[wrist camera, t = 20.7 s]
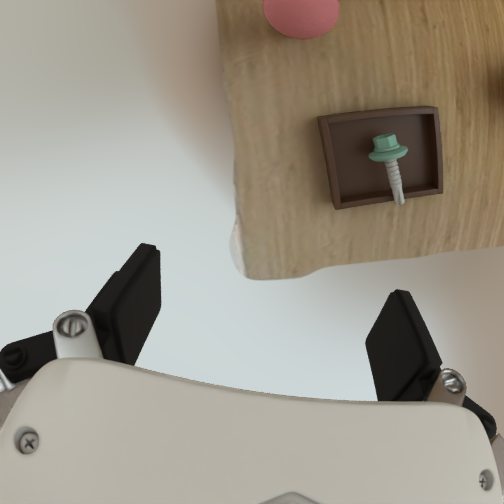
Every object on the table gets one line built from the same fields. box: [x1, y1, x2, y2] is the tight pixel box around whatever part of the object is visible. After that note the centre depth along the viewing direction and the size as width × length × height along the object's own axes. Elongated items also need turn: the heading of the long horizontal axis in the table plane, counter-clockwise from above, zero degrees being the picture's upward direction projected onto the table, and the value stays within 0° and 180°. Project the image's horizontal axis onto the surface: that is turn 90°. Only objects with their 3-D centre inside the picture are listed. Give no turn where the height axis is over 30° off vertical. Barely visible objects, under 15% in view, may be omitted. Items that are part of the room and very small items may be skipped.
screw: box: [368, 134, 408, 206], centre depth 32 cm, size 9×5×5 cm, turn 22°
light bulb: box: [263, 0, 339, 39], centre depth 22 cm, size 7×7×12 cm
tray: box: [317, 106, 443, 210], centre depth 33 cm, size 16×12×3 cm
